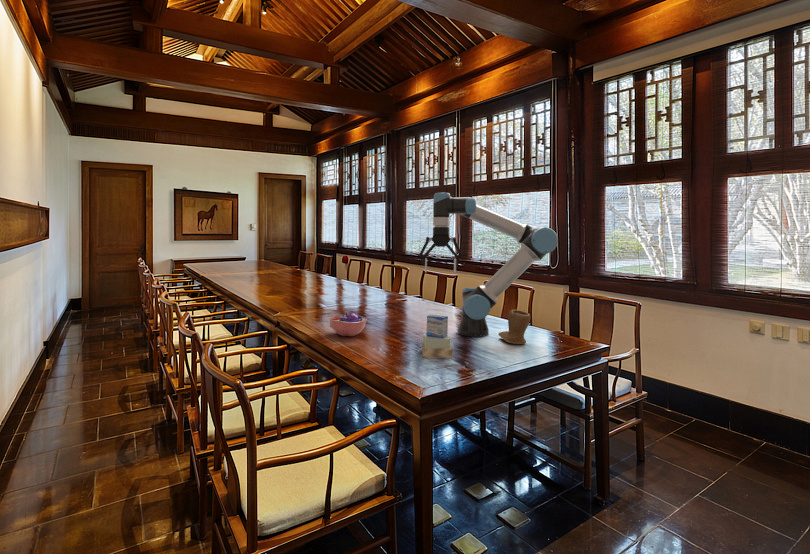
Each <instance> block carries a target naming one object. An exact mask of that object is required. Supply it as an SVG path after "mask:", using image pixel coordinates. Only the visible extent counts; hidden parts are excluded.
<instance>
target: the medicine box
mask: <svg viewBox="0 0 810 554" xmlns="http://www.w3.org/2000/svg"><path fill="white" fill-rule="evenodd" d="M448 317H449V316H447V315H439V314H438V315H437V314H428V315H427V316H426V332H425V333H426V336H429V337H437V338H445V337H447V335H448V331H449V330H448V329H449V328H448V326H449V325H448V324H449V318H448ZM448 336H449V335H448Z"/></svg>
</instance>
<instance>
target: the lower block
mask: <svg viewBox="0 0 810 554" xmlns="http://www.w3.org/2000/svg"><path fill="white" fill-rule="evenodd" d="M453 351H454V350H453V347H452V344H451V343H450V348H442V349H426V348H425V346H424V344H423V341H422V342H421V356H422V358H424V359H425V358H426V359H427V358H428V359H429V358H430V359H431V358H432V359H433V358H437V359H439V358H440V359H441V358H442V359H443V358H445V359H453Z"/></svg>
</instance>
